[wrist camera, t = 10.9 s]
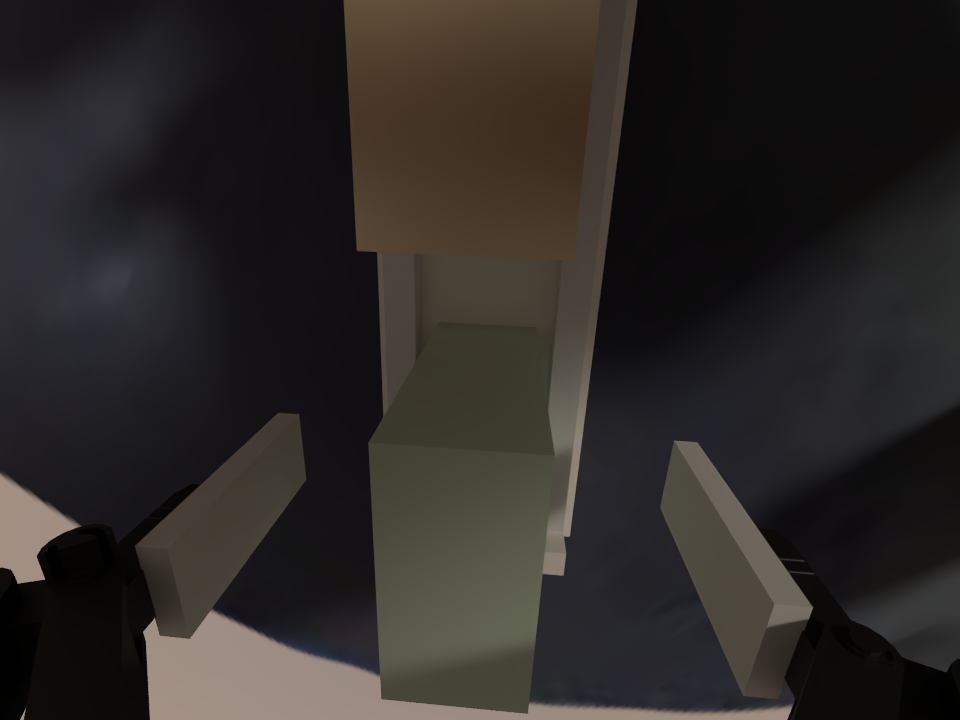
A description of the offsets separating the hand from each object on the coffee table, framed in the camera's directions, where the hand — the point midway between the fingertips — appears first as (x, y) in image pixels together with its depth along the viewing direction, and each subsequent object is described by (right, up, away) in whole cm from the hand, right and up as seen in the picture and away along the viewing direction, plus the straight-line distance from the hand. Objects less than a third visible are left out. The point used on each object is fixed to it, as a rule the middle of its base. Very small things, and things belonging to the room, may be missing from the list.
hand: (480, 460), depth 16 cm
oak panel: (+1, +13, 0) cm, 13 cm away
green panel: (0, +1, +4) cm, 4 cm away
